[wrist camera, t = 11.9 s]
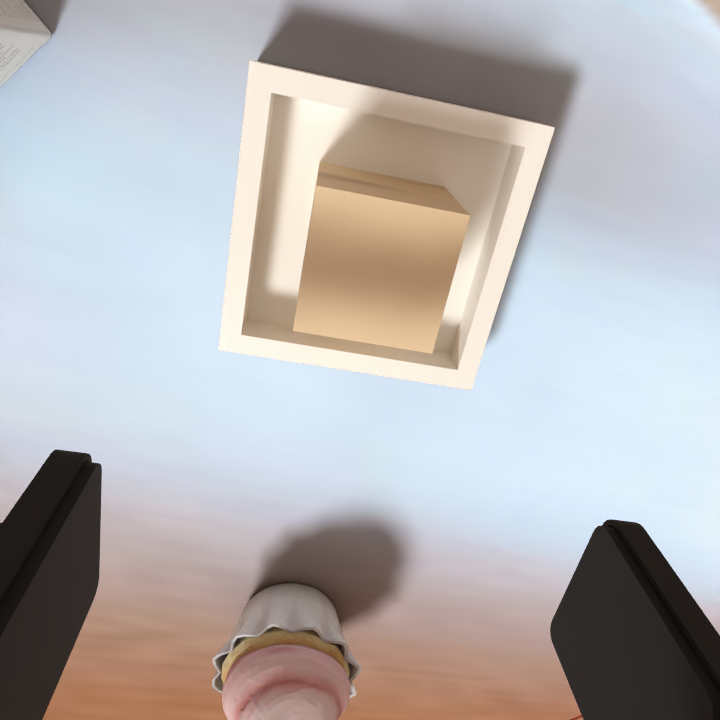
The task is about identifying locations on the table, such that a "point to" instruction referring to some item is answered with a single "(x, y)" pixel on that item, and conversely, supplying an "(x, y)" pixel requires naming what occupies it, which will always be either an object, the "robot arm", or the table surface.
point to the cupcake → (286, 659)
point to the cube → (378, 259)
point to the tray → (383, 156)
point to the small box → (18, 36)
